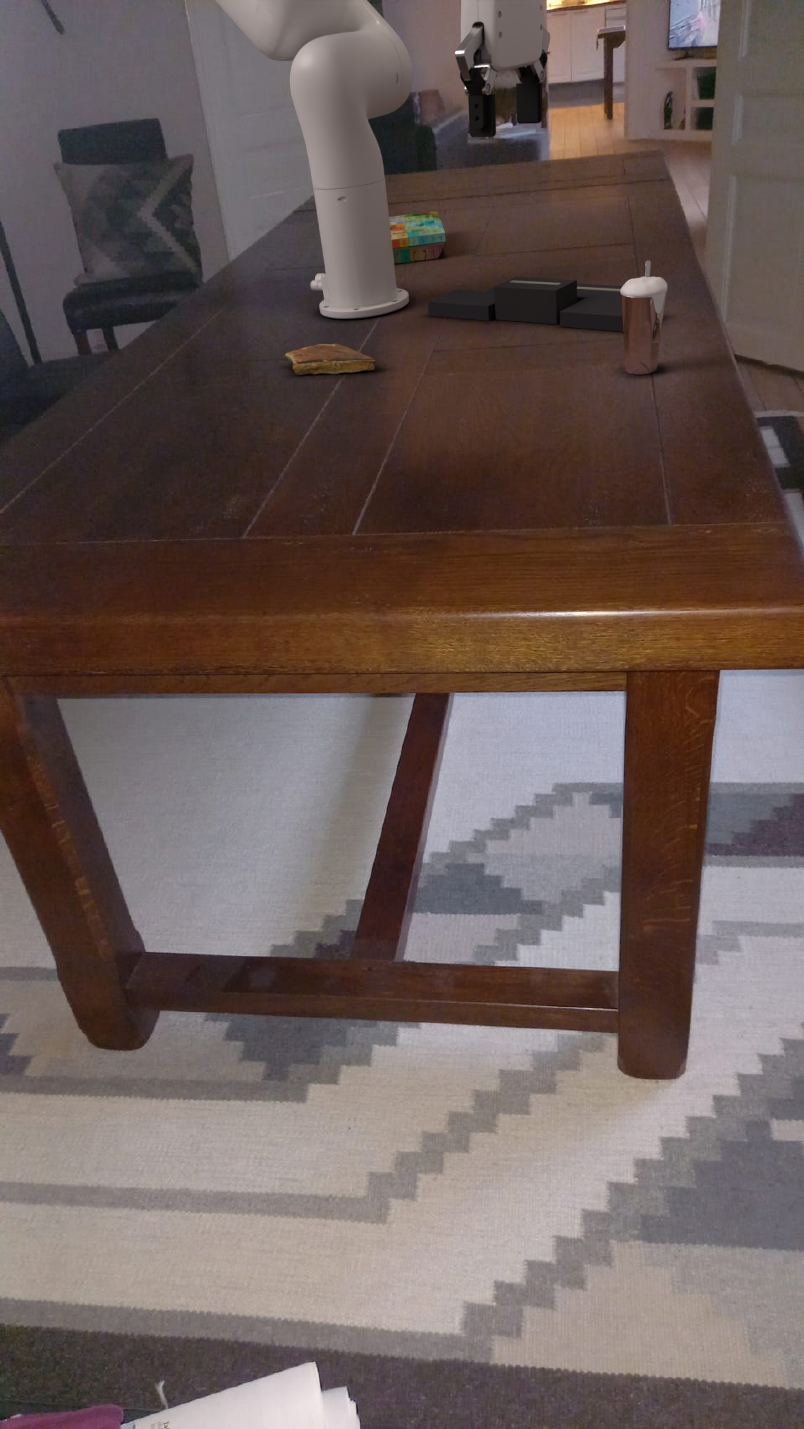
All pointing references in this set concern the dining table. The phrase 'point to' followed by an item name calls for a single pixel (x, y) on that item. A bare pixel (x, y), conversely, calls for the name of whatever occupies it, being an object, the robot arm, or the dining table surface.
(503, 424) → the dining table surface
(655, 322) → the milkshake
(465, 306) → the socket pad
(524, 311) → the pad
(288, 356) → the toasted sandwich half
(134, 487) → the dining table surface
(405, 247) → the puzzle game
